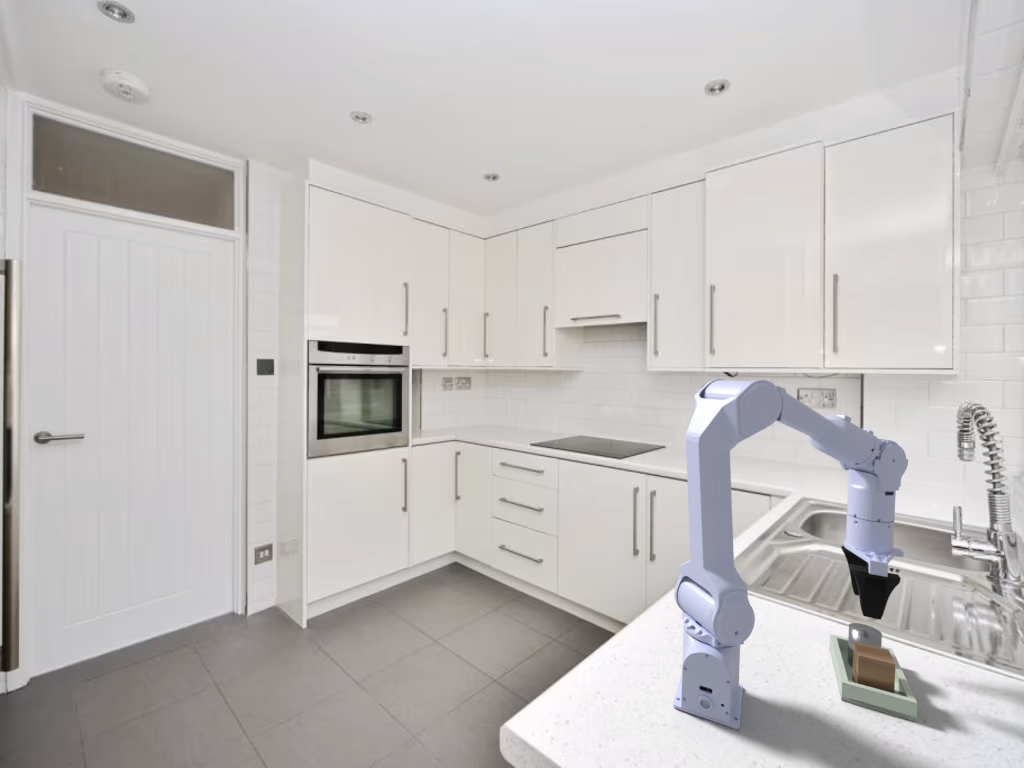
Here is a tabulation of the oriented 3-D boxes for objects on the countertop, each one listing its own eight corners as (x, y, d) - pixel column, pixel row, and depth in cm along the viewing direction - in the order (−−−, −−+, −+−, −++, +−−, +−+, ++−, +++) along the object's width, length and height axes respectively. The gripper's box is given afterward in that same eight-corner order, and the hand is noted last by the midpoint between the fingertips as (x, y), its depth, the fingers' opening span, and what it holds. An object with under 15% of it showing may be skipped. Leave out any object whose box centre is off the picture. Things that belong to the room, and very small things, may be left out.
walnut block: (893, 704, 62) (895, 664, 62) (857, 694, 64) (858, 655, 64) (887, 687, 66) (888, 649, 66) (852, 678, 68) (853, 641, 68)
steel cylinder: (882, 677, 68) (884, 639, 68) (848, 667, 70) (850, 631, 70) (878, 663, 72) (879, 628, 72) (846, 655, 74) (847, 620, 74)
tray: (916, 722, 60) (917, 703, 60) (841, 700, 64) (842, 682, 64) (891, 664, 72) (891, 648, 72) (829, 649, 76) (830, 633, 76)
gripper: (917, 535, 62) (913, 636, 62) (892, 509, 75) (889, 593, 75) (853, 526, 66) (849, 621, 66) (839, 502, 78) (836, 582, 79)
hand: (866, 605), depth 71 cm, fingers open, 7 cm apart
